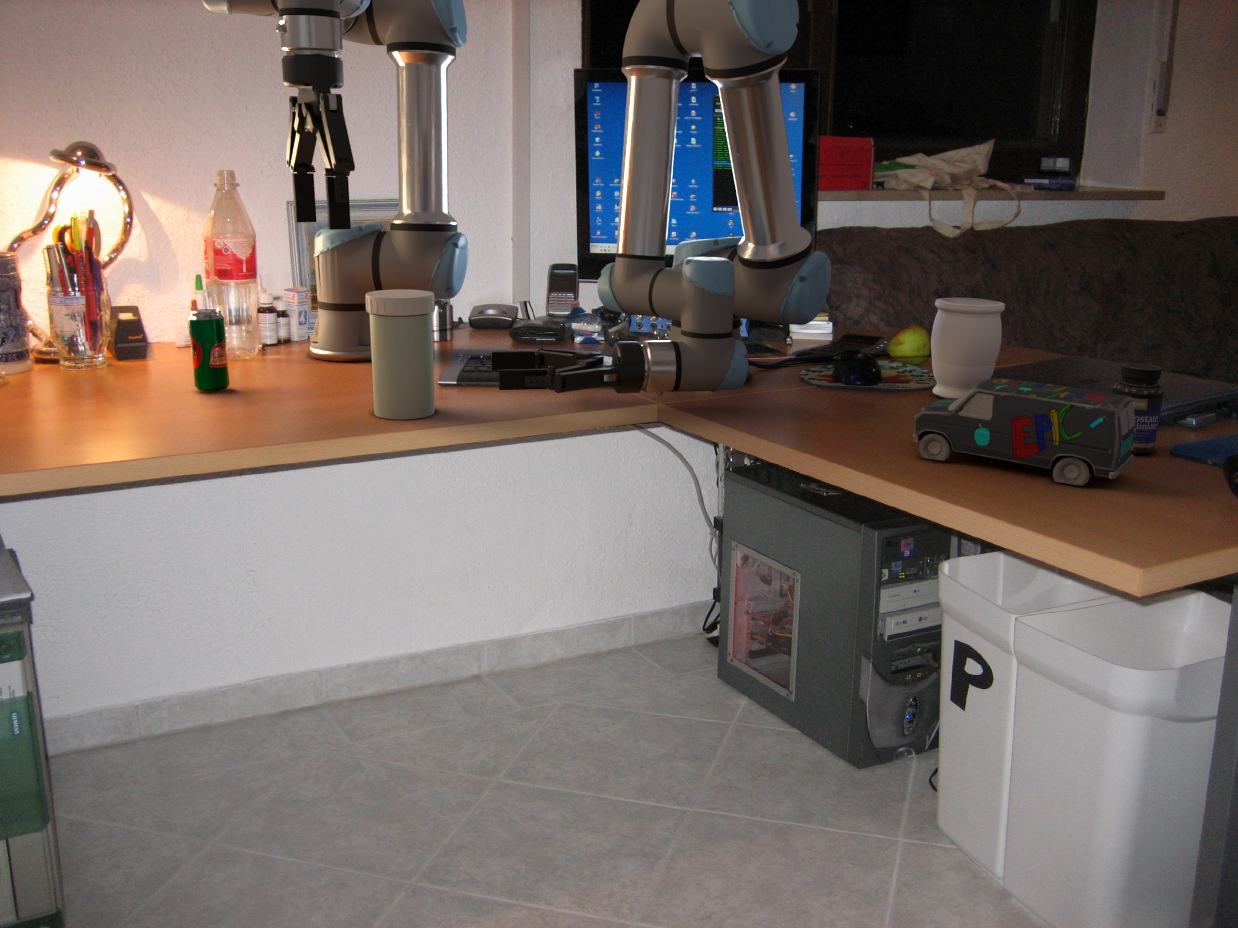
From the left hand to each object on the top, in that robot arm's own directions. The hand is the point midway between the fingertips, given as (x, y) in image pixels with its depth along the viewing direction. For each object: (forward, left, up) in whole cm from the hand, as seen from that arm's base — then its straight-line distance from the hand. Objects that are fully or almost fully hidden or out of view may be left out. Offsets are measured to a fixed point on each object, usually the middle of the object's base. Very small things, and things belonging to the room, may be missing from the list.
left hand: (322, 226), depth 142 cm
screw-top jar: (-6, +8, -26) cm, 28 cm away
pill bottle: (-17, +106, -26) cm, 111 cm away
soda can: (-10, -26, -26) cm, 38 cm away
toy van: (-5, +91, -26) cm, 95 cm away
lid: (-6, +8, -10) cm, 14 cm away
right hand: (-10, +20, -20) cm, 30 cm away
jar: (-44, +86, -26) cm, 100 cm away
